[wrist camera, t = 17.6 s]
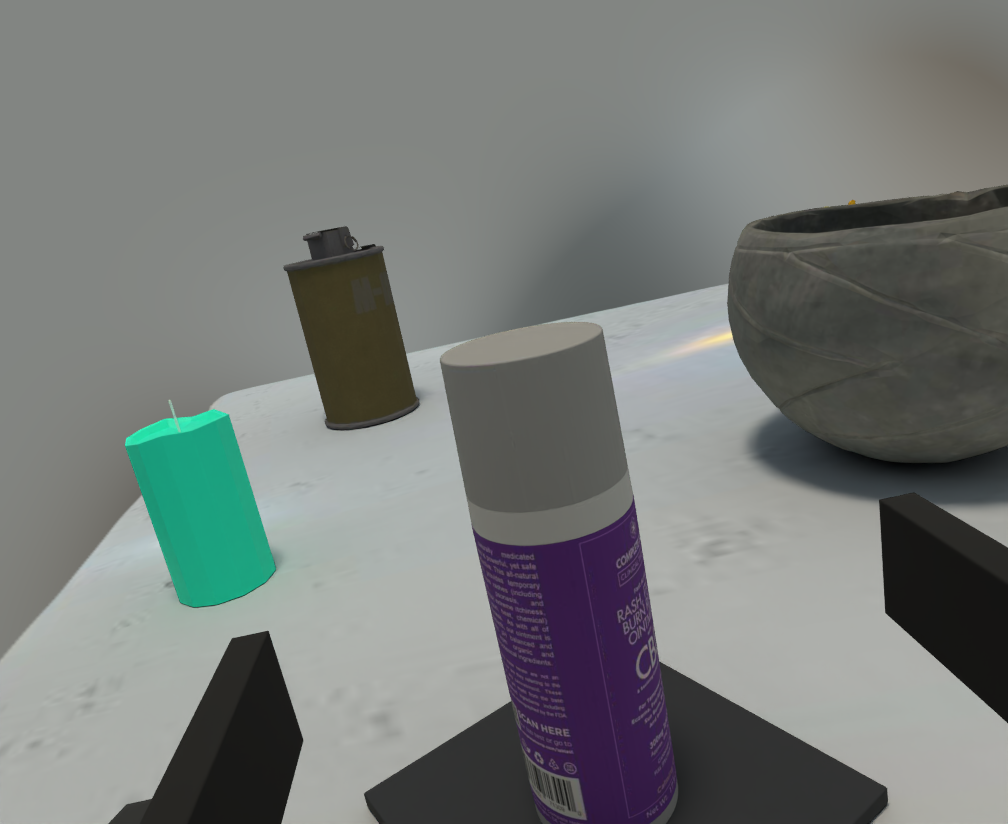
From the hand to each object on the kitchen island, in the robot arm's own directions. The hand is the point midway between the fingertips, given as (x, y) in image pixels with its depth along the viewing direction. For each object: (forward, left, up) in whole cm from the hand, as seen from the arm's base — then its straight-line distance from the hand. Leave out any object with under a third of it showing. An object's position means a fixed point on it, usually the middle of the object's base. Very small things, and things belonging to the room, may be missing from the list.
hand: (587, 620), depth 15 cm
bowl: (+36, +12, -11) cm, 39 cm away
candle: (-2, +35, -11) cm, 37 cm away
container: (+3, +5, -10) cm, 12 cm away
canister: (+21, +63, -11) cm, 67 cm away
